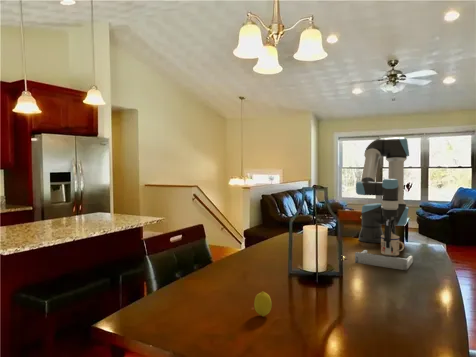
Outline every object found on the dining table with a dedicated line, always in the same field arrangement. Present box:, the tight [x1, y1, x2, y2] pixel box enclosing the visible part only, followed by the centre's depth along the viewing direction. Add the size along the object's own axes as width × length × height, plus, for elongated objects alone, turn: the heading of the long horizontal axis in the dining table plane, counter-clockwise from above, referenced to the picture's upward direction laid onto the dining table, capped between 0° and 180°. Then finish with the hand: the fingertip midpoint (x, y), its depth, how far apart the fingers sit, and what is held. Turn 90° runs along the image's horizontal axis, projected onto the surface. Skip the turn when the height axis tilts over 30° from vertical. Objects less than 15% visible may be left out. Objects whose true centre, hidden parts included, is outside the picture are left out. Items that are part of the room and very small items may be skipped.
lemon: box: [253, 291, 272, 318], centre depth 108 cm, size 6×6×8 cm
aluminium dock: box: [354, 249, 414, 271], centre depth 167 cm, size 16×23×5 cm
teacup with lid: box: [380, 232, 405, 257], centre depth 177 cm, size 12×9×12 cm
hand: (390, 252), depth 178 cm, fingers closed on teacup with lid, 7 cm apart
